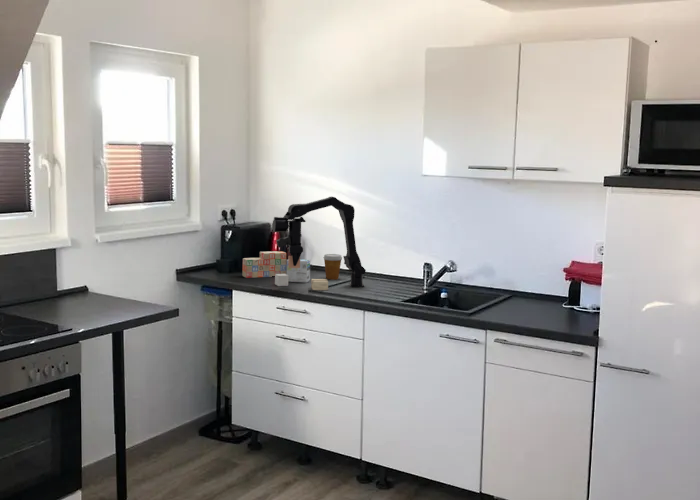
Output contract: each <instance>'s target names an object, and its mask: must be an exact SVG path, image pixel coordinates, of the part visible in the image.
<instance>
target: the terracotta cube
mask: <svg viewBox="0 0 700 500" xmlns="http://www.w3.org/2000/svg"><path fill="white" fill-rule="evenodd" d="M300 259H301V257H300V258H299V260H298V262H297V264H296V266H294V265H293V259H292V256H291V255H288V259H287V260H288V267H289V268H300Z"/></svg>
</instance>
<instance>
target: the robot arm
mask: <svg viewBox="0 0 700 500" xmlns="http://www.w3.org/2000/svg"><path fill="white" fill-rule="evenodd" d="M331 206H332V207H333V208H334V209H335V210H338V213H339V216H340V219H341V221H342V223H343V229H344V238H345V245H346V246H345V247H346V255H343V257H342V258H343V261H344V262H343V264H344V265H345V267H346V269H348V272H350V282H349V283H348V285H349V286H350V287H352V288H353V287H355V288H356V287H362V288H363V287H365V285H364V284H363V277H364V275H365V274H366V272H367V270H366V269H365V268H364V266H363V265H362V262H361V261H362V260H361V259H360V256H359V254H358V252H357V246H356V237H355V231H354V230H355V229H354V220H355V207H354V206H353V205H352V204H348V203H345V202H343V201H341V199H337V198H336V197H335V196H328V197H326V198H322V199H318V200H314V201H311V202H307V203H292V204H290V205H289V206H288V209H287V211H286V213H285V214H284V215H283V217H281V216H280V217H279V216H274V217H273V220H272V223H271V224H272V225H271V227H272V232H273V233H275V232H276V233H278V232H279V233H281V232H282V233H285V232H287V231H288V233H287V236H285V237H284V236H283V237H281V238H279V239H276V240H275V241H276V244H277V247H278V248H279V249H280V248H282V247H284V246H286V248H287V251H288V253H289V254H290V256H292V259H293V265H294V266H296V264H297V262H298V260H299V258H300V259H301V255H302V253H304V246H302V223H306V222H307V220H306V219H304V217H303V216H305V215H307V214H308V213H310V212H313V211H316V210H320V209H325V208H328V207H331Z"/></svg>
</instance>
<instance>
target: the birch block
mask: <svg viewBox="0 0 700 500" xmlns="http://www.w3.org/2000/svg"><path fill="white" fill-rule="evenodd" d="M310 281H311V283H310V284H311V286H310V287H311V289H312V290H313V291H328V290H329V281H328V279H326V278H310Z"/></svg>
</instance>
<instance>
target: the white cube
mask: <svg viewBox="0 0 700 500" xmlns="http://www.w3.org/2000/svg"><path fill="white" fill-rule="evenodd" d="M288 276H289V275H286V274H275V277H274V285H276V286H277V287H288V286H289V281H288Z"/></svg>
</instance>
